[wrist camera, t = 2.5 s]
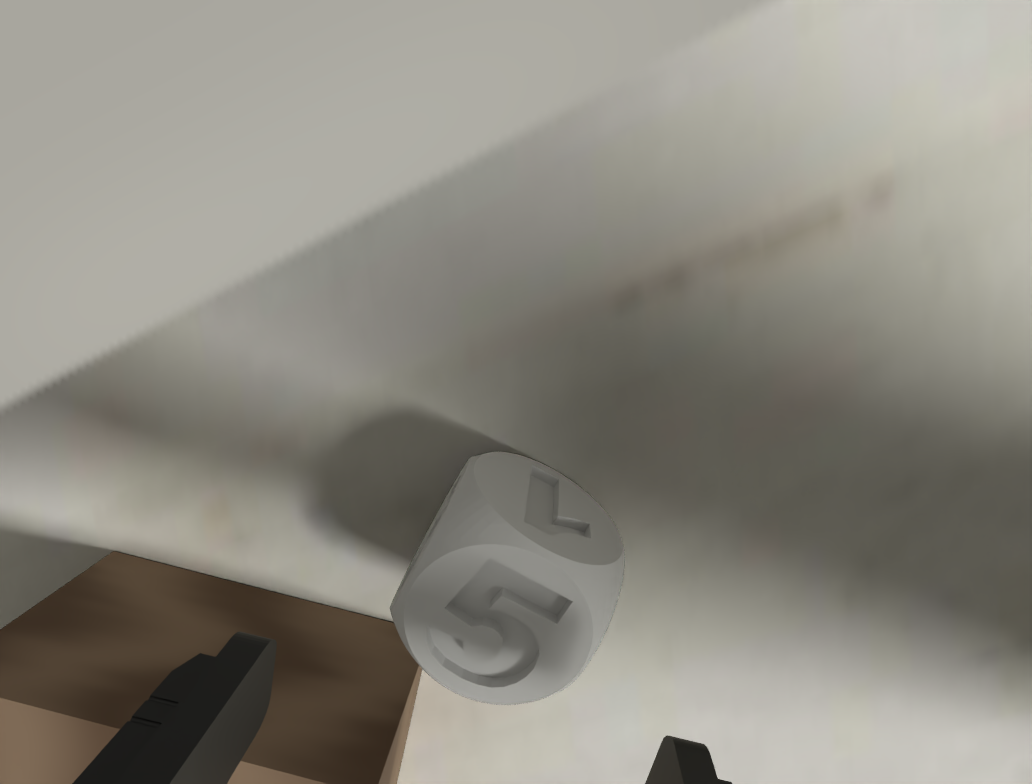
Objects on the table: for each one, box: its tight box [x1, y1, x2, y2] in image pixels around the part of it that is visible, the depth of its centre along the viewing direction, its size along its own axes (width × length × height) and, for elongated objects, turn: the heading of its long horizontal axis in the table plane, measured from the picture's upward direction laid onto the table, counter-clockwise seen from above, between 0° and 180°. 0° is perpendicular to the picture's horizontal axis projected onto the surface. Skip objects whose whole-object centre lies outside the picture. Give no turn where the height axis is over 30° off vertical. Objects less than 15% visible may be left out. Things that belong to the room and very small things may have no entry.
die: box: [390, 452, 625, 705], centre depth 16 cm, size 5×5×5 cm
